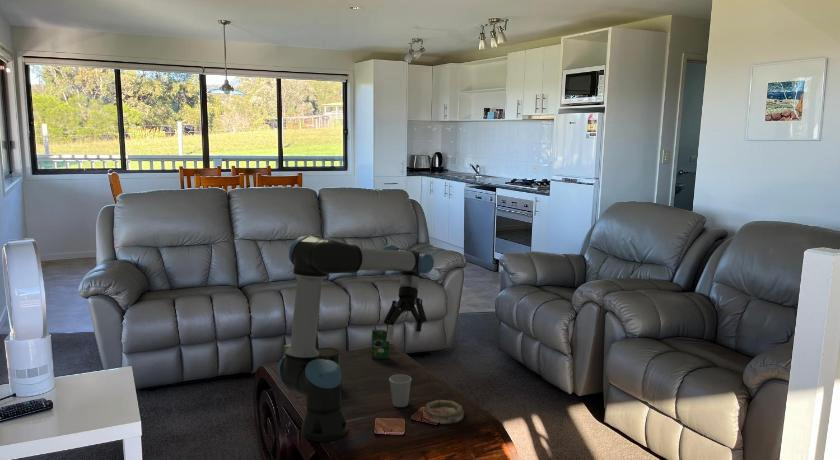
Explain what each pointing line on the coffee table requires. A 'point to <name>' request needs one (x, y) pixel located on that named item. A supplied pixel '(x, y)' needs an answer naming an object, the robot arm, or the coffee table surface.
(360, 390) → the coffee table surface
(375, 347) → the coffee box
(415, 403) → the coffee table surface
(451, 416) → the rimmed coaster
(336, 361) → the coffee can
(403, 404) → the dixie cup
